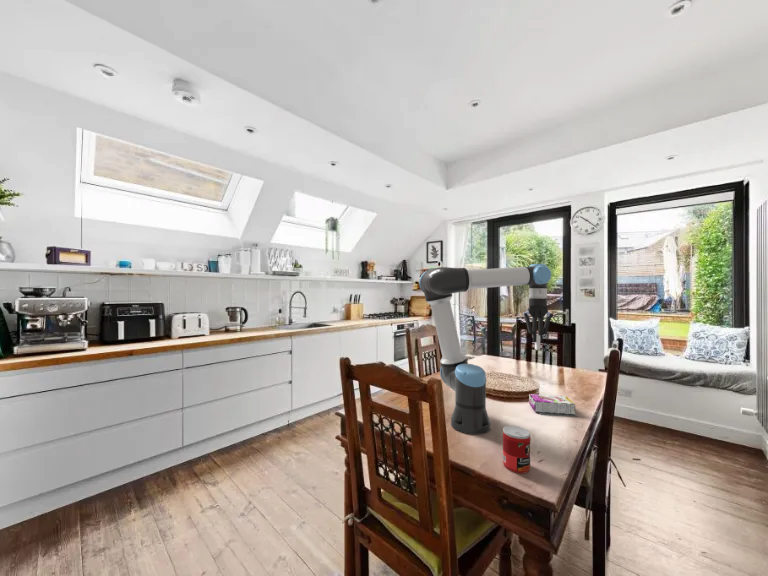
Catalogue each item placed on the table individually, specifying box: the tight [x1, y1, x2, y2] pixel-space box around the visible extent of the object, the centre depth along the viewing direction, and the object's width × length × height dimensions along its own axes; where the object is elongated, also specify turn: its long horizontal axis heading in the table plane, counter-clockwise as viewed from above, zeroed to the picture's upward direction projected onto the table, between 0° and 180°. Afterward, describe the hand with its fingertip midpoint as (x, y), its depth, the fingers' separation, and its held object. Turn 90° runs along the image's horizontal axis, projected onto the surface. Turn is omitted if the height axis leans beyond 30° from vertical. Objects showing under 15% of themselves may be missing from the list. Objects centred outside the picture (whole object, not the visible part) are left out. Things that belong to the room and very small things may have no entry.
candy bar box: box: [528, 393, 576, 415], centre depth 145 cm, size 11×5×16 cm
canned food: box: [502, 425, 531, 474], centre depth 99 cm, size 8×8×11 cm
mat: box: [538, 412, 579, 418], centre depth 146 cm, size 15×14×1 cm
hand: (537, 349), depth 148 cm, fingers closed
